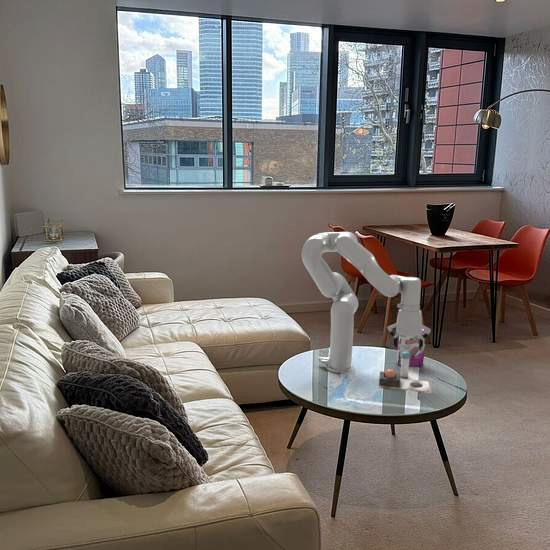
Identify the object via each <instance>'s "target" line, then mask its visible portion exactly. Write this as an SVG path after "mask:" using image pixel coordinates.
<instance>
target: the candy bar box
mask: <svg viewBox="0 0 550 550" xmlns="http://www.w3.org/2000/svg"><path fill="white" fill-rule="evenodd" d="M425 333H426V330H424V329H422V335H424V334H425ZM419 339H420V337H419V336H405V335H399V336H398V343H397V354H396V355H397V357H396V363H397V365H398V366H401V358H402V357H401V355H402V352H403V351H406V352H410V358H409V367H420V368H421V367H422V368H423V366H424V360H425V359H424V356H425V350H426V348H425V347H426V339H427V337H426V338H425V339H424V340H423V347H421V350H420V349H419Z"/></svg>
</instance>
